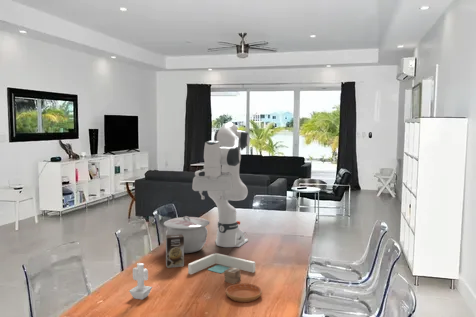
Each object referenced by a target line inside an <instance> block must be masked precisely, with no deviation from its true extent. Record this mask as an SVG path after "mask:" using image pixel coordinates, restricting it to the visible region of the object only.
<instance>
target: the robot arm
mask: <svg viewBox="0 0 476 317" xmlns="http://www.w3.org/2000/svg"><path fill="white" fill-rule="evenodd" d="M249 143H250V135H249V133H248V131H245V130H240V129H239V130H238V126H237V125H236V124H235V123H234V122H231V121H230V122H226V123H224V124H223V125H222V126H221V127H220V128H219V129H218V130H216V131H215V132H214V136H213V140H208V141H205V142H204V149H203V160H204V164H203V169H199V170H196V171H195V172H194V177H193V178H192V186H191V187H192V190H193V191H194V192H198V193H199V195H200V196H201V198H200V199H201V200H205V195H203V192H207V195H208V197H209V198H210V199H211V200H212V201H213V202H214V203H215V205H216V207H217V214H218V222H217V230H216V239H215V241H214V242H215V245H216V246H217V247H223V248H234V247H235V248H236V247H237V248H239V247H240V248H241V247H242V246H243V245H244V244H246V243H248V242H249V238H246V237H245V236H246V235H245V232H244V230H242V229H241V228H240V227H239V225H241V221H239V220H237V210H236V207H234V206H233V205H231V204H230V203H229V201H235V202H237V201H243V200H245V199H246V198H247V197H248V195H249V194H248V193H249V191H248V187H247V185H246V184H245V183H244V182H243V180H242V179H241V178H240V177H241V176H240V167H241V166H240V165H241V159H242V155H241V151H243V150H244V149H246V148H247V147H248V145H249Z"/></svg>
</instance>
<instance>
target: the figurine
mask: <svg viewBox="0 0 476 317" xmlns="http://www.w3.org/2000/svg"><path fill="white" fill-rule="evenodd" d="M144 267H145V263H142V262H137V263H136V267H133V268H132V279H133V280H134V281H136V282H137V285H136V286H135V287H133V288H131V289H130V290H129V291H128V292H129V293H130V295H131V297H133V299H135V300H136V299H137V300H144V299H145V298H147V297H149V295H150V293H151V291H152V289H153V286H150V285H149V286H147V285H145V281H148V279H149V270H148V269H147V268H144Z"/></svg>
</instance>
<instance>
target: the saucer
mask: <svg viewBox="0 0 476 317" xmlns="http://www.w3.org/2000/svg"><path fill="white" fill-rule="evenodd" d="M262 293H263V289H262V288H261V287H259V285H256V284H253V283H235V284H232V285H229V286H228V287H226V288H225V294H226V296H227V297H228V298H229V299H231V300H232V301H234V302H238V303H239V302H240V303H248V302H249V303H251V302H253V301H256V300H257V299H258V298H260V296H262Z"/></svg>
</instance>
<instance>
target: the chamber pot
mask: <svg viewBox="0 0 476 317" xmlns="http://www.w3.org/2000/svg"><path fill="white" fill-rule="evenodd" d="M210 223H211V222H210V220H208V219H206V218H203V217H196V216H187V215H185V216H183V217H182V216H181V217H180V216H179V217H175V218H171V219H168V220H166V221H164V222H163V226H164V227H166V228H167V229H166V231H165V236H166V235H177V234H182V235H183V236H184V254H192V253H196V252H198V251H200V250H202V248H203V247H204V246H205V244H206V242H207V239H208V238H207V236H208V229H207V226H209V225H210Z"/></svg>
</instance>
